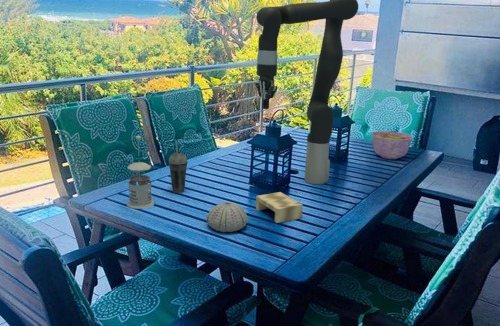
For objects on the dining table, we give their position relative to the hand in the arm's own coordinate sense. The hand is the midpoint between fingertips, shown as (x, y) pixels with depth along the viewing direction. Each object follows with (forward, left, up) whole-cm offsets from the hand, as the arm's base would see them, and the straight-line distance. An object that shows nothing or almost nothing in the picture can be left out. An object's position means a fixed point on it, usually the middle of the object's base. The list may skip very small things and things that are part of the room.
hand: (265, 108), depth 183 cm
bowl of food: (-84, -14, -32) cm, 91 cm away
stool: (+9, +19, -30) cm, 36 cm away
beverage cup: (+32, -10, -32) cm, 46 cm away
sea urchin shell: (+30, +28, -32) cm, 52 cm away
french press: (+49, -4, -32) cm, 59 cm away
